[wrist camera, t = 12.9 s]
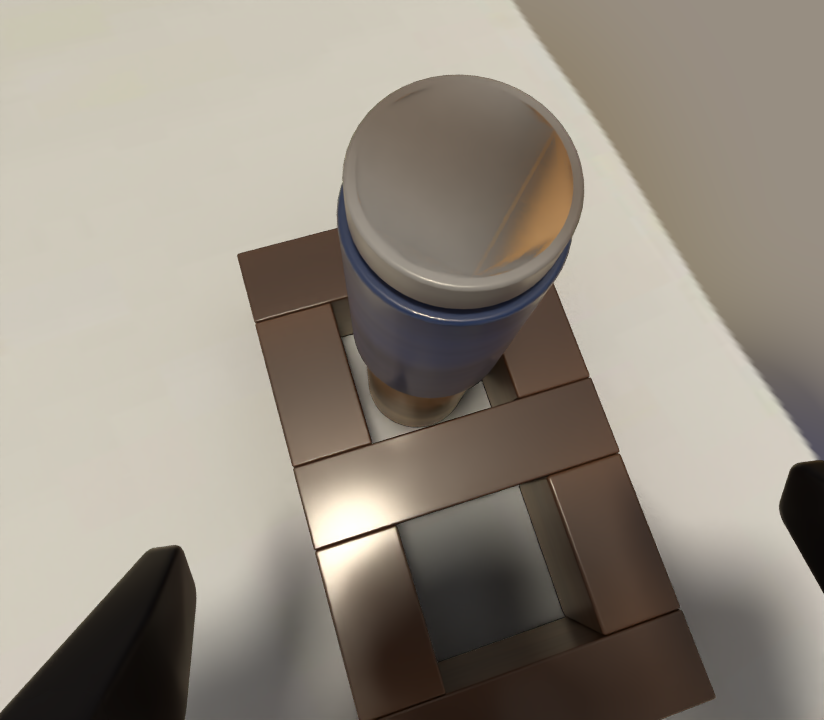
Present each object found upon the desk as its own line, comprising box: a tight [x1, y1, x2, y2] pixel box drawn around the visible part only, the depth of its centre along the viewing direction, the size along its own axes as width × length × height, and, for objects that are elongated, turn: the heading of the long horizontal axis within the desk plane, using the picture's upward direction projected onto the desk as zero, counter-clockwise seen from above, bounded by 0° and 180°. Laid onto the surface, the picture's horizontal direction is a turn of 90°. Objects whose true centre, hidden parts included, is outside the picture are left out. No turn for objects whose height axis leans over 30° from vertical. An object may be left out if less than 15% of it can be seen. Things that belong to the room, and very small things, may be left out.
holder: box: [237, 228, 716, 720], centre depth 18 cm, size 15×9×4 cm, turn 17°
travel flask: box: [337, 75, 584, 427], centre depth 15 cm, size 4×4×12 cm
